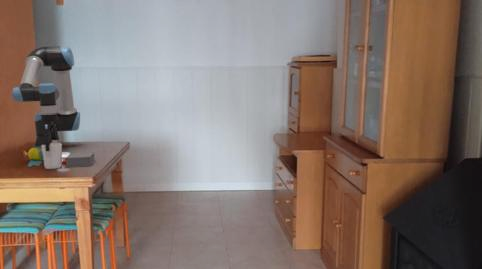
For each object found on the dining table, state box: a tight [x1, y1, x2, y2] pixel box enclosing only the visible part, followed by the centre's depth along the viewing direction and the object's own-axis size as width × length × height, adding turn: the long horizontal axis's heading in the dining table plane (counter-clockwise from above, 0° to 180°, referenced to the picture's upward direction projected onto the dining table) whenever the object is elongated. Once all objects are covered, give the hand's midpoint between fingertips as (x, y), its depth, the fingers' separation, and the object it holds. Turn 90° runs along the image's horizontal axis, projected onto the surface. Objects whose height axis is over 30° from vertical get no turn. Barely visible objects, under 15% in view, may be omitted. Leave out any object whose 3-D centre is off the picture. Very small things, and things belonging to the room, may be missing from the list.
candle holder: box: [41, 142, 63, 170], centre depth 232 cm, size 10×10×12 cm
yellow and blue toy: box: [22, 146, 44, 167], centre depth 249 cm, size 28×9×15 cm
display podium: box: [65, 151, 95, 168], centre depth 238 cm, size 12×12×5 cm
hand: (52, 154), depth 232 cm, fingers open, 13 cm apart
